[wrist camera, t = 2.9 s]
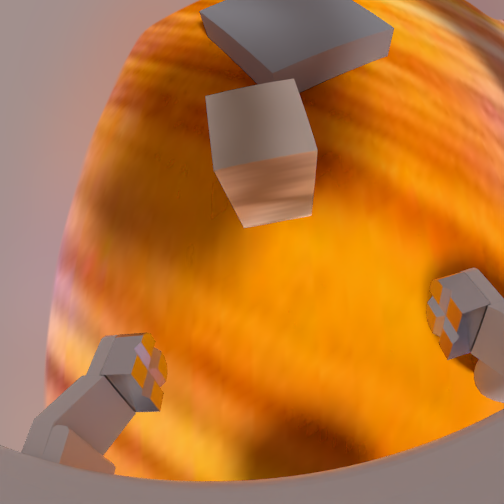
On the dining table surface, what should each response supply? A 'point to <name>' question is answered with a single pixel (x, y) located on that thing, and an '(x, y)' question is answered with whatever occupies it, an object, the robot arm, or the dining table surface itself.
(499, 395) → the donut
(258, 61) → the grey plinth
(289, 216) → the grey upright block
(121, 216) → the dining table surface
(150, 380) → the robot arm
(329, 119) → the dining table surface
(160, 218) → the dining table surface
